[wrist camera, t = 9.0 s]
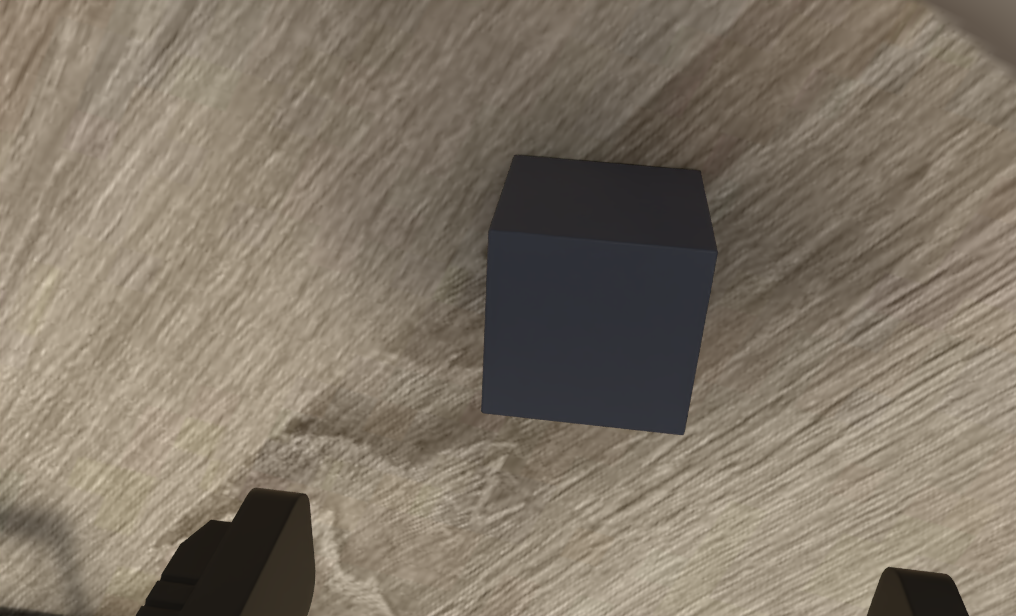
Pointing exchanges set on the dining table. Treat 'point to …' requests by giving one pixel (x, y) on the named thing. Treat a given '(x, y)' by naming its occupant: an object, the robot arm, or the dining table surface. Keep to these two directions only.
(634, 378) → the block
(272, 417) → the dining table surface
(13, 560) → the dining table surface
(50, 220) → the dining table surface
